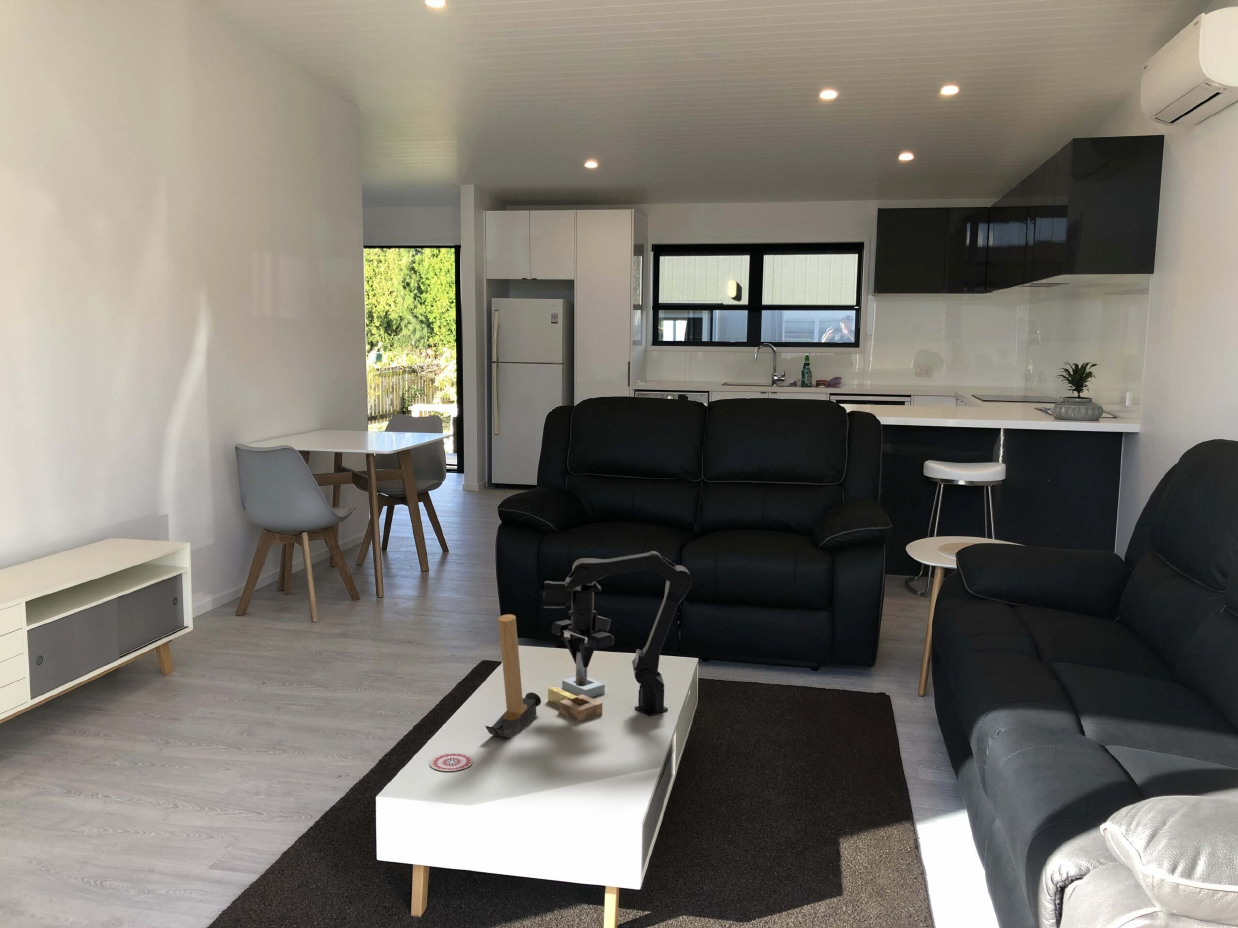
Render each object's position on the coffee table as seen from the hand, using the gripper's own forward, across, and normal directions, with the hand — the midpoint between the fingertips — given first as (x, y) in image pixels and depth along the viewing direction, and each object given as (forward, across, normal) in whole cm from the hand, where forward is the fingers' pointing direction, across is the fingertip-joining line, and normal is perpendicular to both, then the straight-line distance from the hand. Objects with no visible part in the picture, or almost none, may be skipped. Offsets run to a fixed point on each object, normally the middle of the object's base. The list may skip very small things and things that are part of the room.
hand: (581, 665), depth 241 cm
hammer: (+12, +2, +20) cm, 24 cm away
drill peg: (+5, 0, 0) cm, 5 cm away
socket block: (+12, -2, +2) cm, 12 cm away
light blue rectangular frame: (+12, +10, -10) cm, 18 cm away
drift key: (+12, +6, +2) cm, 13 cm away
